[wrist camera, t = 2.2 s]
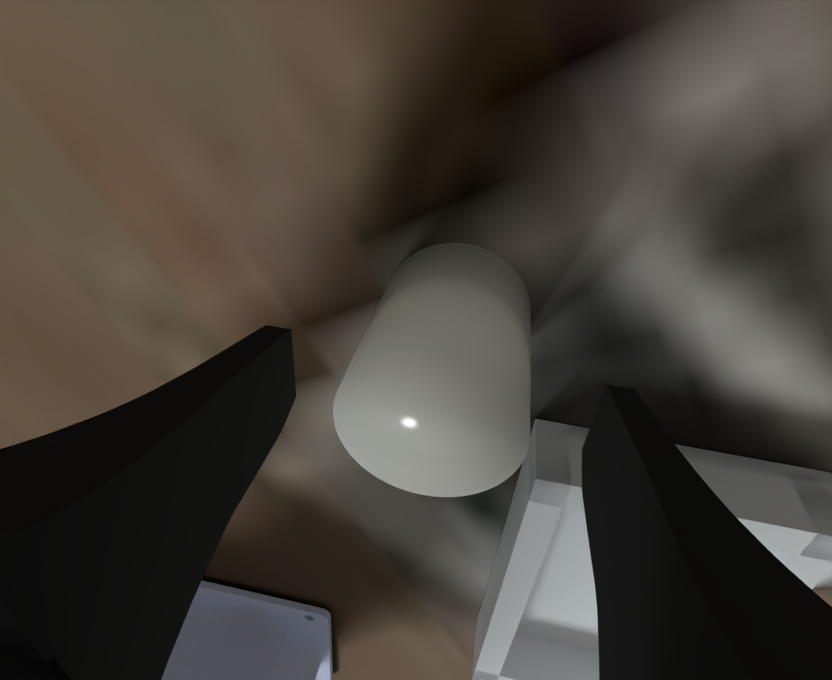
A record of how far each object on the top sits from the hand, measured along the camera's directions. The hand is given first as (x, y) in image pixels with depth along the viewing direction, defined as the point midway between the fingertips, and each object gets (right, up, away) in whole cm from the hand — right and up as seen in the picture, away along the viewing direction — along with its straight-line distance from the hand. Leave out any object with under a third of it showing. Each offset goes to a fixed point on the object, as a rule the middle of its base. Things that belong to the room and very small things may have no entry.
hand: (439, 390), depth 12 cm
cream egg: (+1, +2, +3) cm, 4 cm away
